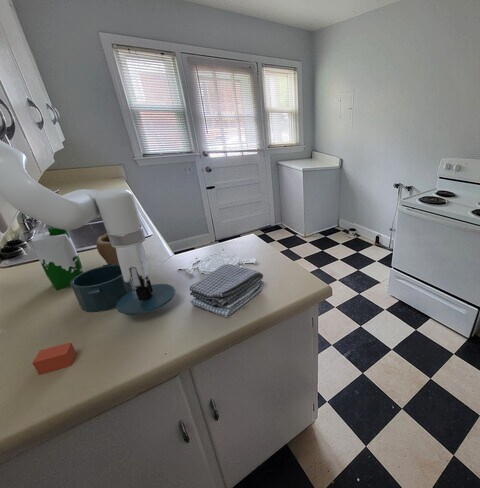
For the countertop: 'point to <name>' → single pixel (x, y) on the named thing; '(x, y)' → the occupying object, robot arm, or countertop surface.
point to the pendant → (218, 262)
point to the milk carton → (57, 256)
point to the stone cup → (107, 250)
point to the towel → (226, 289)
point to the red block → (54, 358)
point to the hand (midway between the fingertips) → (146, 295)
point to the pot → (100, 288)
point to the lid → (146, 300)
